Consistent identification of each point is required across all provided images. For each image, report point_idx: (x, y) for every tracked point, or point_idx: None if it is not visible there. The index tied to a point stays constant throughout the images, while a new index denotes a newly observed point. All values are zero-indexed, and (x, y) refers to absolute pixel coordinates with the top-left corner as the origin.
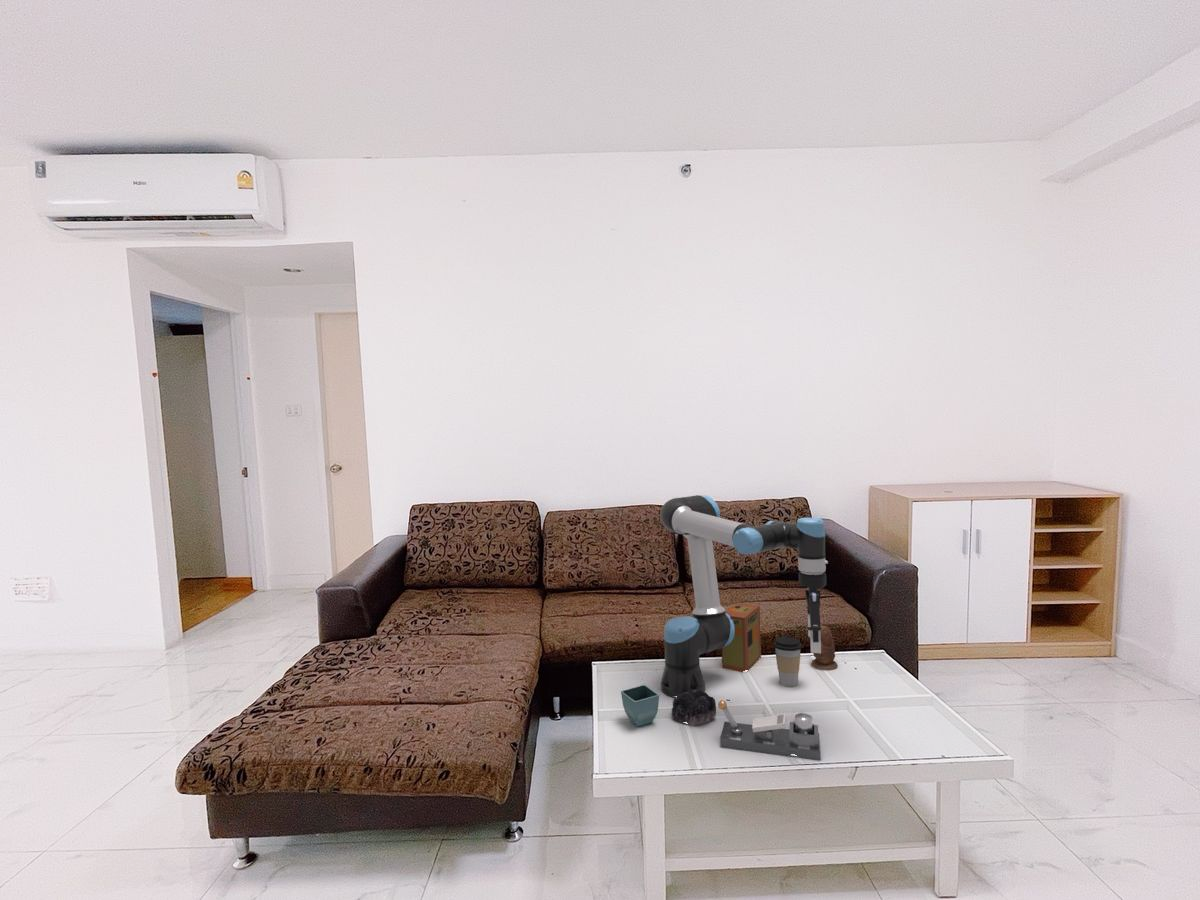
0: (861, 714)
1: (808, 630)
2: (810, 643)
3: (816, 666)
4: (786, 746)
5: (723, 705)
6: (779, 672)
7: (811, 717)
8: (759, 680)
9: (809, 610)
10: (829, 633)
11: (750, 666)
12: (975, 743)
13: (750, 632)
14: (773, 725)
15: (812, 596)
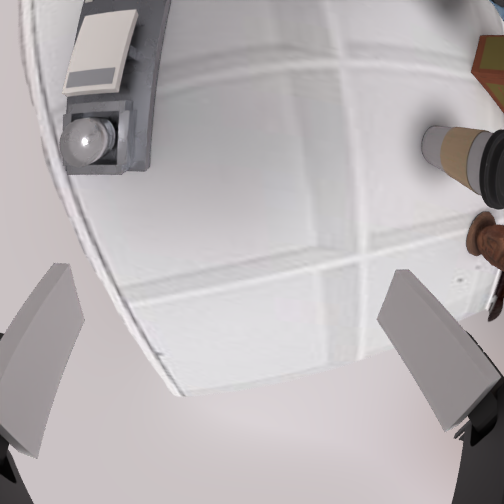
0: (295, 269)
1: (418, 297)
2: (40, 302)
3: (478, 219)
4: (69, 98)
5: None
6: (450, 128)
7: (82, 165)
8: (446, 86)
9: (498, 433)
10: None
11: (488, 90)
12: (211, 388)
13: None
14: (69, 64)
15: None
